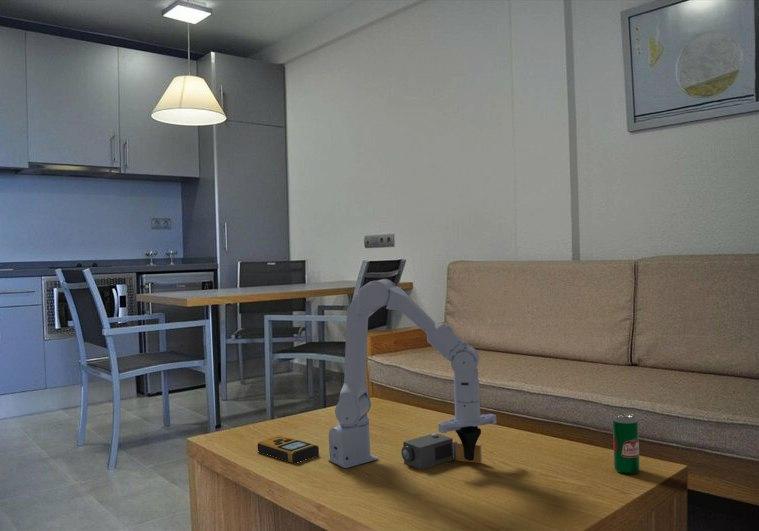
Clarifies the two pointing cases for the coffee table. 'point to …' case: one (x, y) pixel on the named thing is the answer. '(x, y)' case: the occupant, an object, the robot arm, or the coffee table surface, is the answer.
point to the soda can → (626, 443)
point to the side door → (459, 452)
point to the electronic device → (288, 449)
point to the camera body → (427, 451)
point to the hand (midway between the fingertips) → (469, 459)
